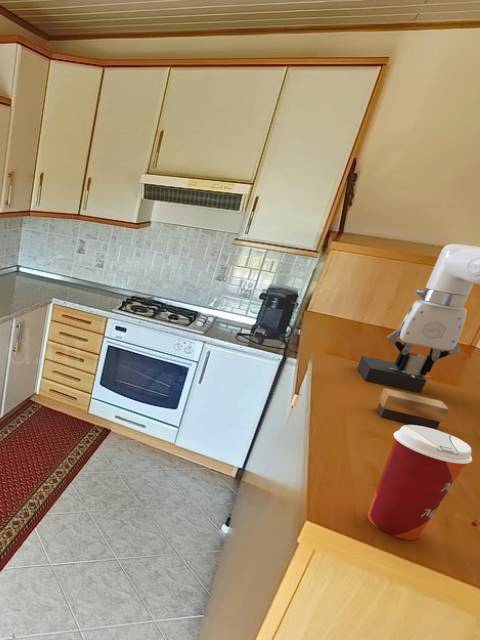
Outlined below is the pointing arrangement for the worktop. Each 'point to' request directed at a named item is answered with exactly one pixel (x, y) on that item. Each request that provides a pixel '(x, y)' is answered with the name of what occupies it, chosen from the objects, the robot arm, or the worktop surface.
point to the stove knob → (414, 364)
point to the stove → (389, 375)
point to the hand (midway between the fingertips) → (410, 370)
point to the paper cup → (416, 479)
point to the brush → (411, 409)
